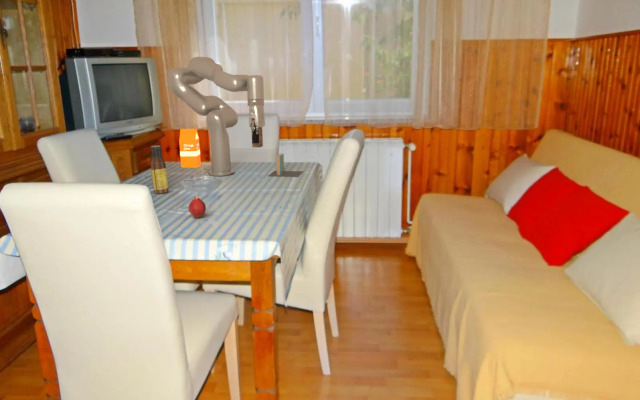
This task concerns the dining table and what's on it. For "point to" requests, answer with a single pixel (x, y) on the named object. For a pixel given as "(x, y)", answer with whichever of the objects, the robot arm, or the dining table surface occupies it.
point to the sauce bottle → (158, 171)
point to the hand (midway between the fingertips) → (257, 141)
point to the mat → (287, 174)
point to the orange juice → (189, 148)
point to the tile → (280, 164)
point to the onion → (197, 207)
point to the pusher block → (259, 138)
